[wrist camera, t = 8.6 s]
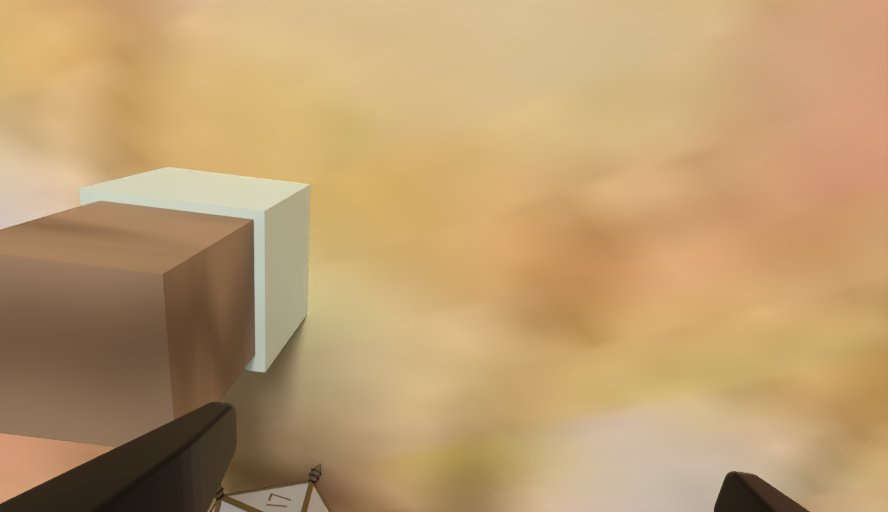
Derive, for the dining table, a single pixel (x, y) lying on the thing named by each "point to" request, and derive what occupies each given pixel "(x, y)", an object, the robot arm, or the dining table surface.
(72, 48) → the dining table surface
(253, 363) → the sage block
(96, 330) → the walnut block
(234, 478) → the dining table surface
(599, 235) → the dining table surface
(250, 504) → the game die
